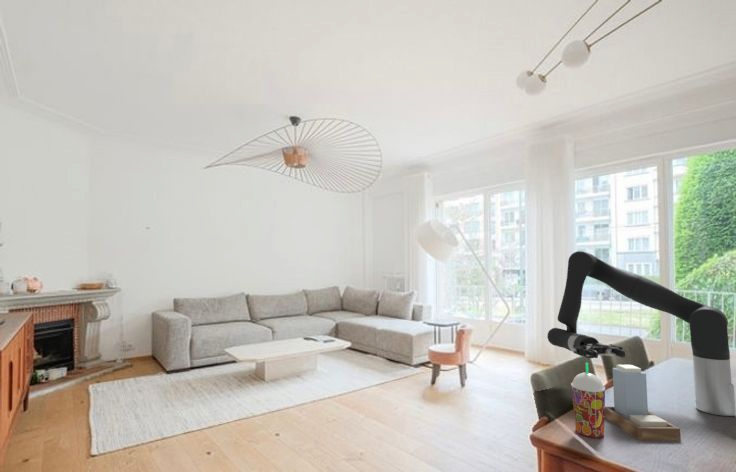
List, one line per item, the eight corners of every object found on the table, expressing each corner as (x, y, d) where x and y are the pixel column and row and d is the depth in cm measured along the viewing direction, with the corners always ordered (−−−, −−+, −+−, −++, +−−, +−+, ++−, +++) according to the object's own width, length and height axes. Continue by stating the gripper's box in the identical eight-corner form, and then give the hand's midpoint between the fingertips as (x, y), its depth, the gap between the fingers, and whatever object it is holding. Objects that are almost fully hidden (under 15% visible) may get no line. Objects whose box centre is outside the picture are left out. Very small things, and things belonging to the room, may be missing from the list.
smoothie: (566, 431, 112) (563, 359, 113) (594, 430, 113) (591, 359, 114) (585, 444, 104) (582, 367, 105) (615, 443, 104) (611, 366, 106)
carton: (614, 418, 118) (612, 363, 119) (635, 418, 118) (632, 364, 119) (627, 426, 112) (624, 369, 114) (648, 427, 112) (645, 369, 113)
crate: (603, 420, 120) (603, 406, 120) (640, 420, 120) (639, 406, 120) (638, 443, 104) (638, 428, 104) (681, 444, 104) (680, 428, 104)
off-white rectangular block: (630, 429, 110) (629, 415, 111) (655, 429, 110) (654, 415, 110) (641, 436, 106) (640, 421, 106) (667, 436, 106) (666, 421, 106)
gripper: (562, 335, 143) (586, 343, 127) (602, 334, 142) (631, 342, 126) (564, 356, 142) (588, 367, 126) (604, 355, 142) (633, 366, 126)
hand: (610, 354), depth 126 cm, fingers open, 8 cm apart
